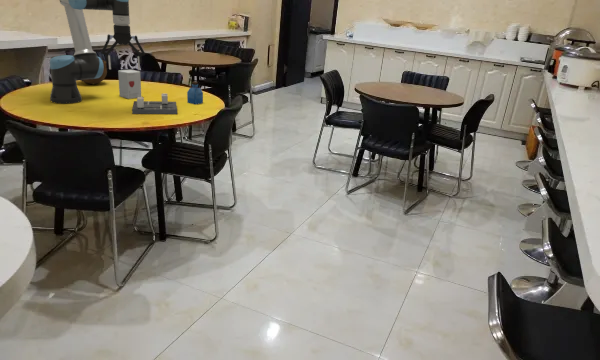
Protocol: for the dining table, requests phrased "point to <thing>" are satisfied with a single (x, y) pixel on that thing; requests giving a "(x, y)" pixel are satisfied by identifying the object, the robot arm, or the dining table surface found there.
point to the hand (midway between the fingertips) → (124, 69)
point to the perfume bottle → (195, 94)
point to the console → (155, 108)
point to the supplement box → (129, 83)
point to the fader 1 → (140, 102)
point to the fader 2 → (164, 99)
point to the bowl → (97, 80)
